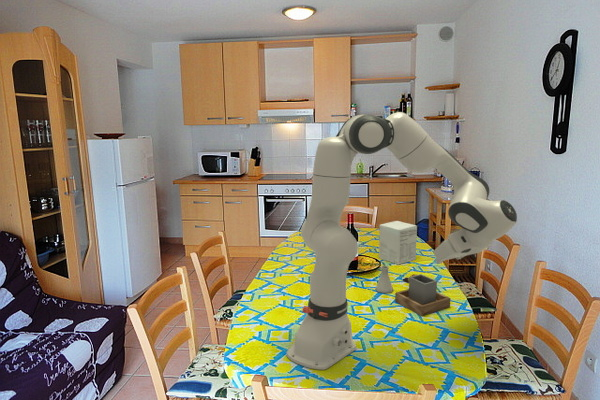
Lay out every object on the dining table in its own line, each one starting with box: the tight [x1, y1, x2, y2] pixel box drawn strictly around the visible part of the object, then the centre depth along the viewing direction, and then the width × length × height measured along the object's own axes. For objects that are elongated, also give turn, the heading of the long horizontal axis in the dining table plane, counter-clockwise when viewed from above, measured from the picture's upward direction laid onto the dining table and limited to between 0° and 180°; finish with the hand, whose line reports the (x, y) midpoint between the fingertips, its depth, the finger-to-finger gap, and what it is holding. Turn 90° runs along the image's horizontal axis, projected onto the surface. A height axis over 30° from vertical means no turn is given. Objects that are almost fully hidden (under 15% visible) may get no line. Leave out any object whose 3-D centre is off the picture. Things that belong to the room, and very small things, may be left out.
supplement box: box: [378, 220, 418, 265], centre depth 200 cm, size 13×13×18 cm
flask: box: [375, 265, 394, 294], centre depth 164 cm, size 7×7×10 cm
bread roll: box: [402, 274, 417, 284], centre depth 172 cm, size 11×8×4 cm
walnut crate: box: [394, 288, 451, 317], centre depth 151 cm, size 14×14×4 cm
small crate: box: [408, 273, 438, 305], centre depth 150 cm, size 8×6×9 cm
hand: (447, 259), depth 138 cm, fingers open, 8 cm apart
